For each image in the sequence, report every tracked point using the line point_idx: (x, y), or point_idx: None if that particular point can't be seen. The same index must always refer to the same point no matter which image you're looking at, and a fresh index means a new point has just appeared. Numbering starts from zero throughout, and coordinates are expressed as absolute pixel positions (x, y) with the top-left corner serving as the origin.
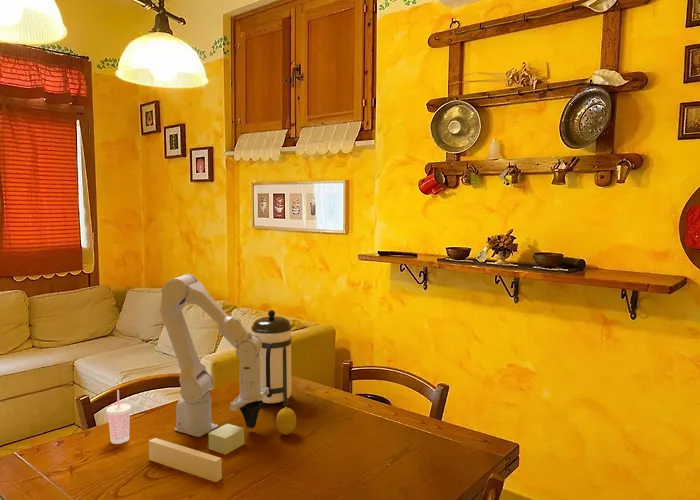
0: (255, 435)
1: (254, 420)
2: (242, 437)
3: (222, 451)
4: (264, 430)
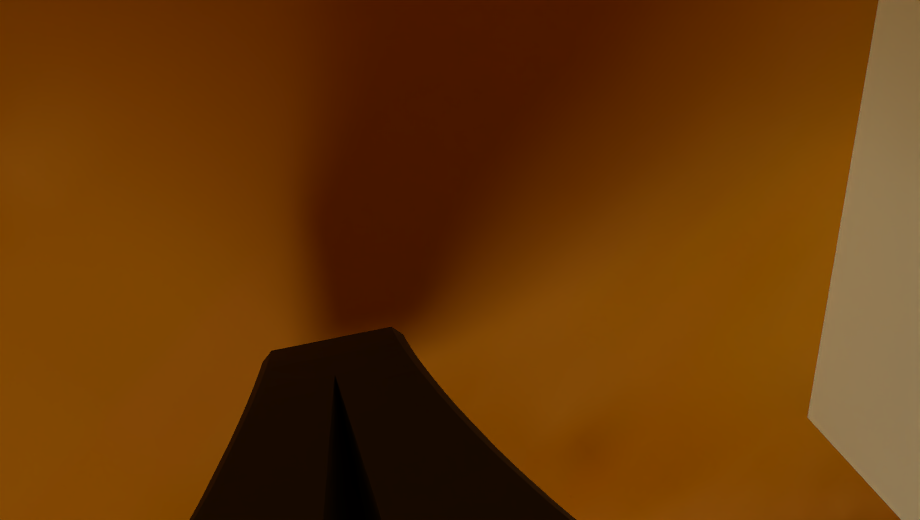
0: (411, 118)
1: (366, 440)
2: None
3: None
4: (38, 158)
